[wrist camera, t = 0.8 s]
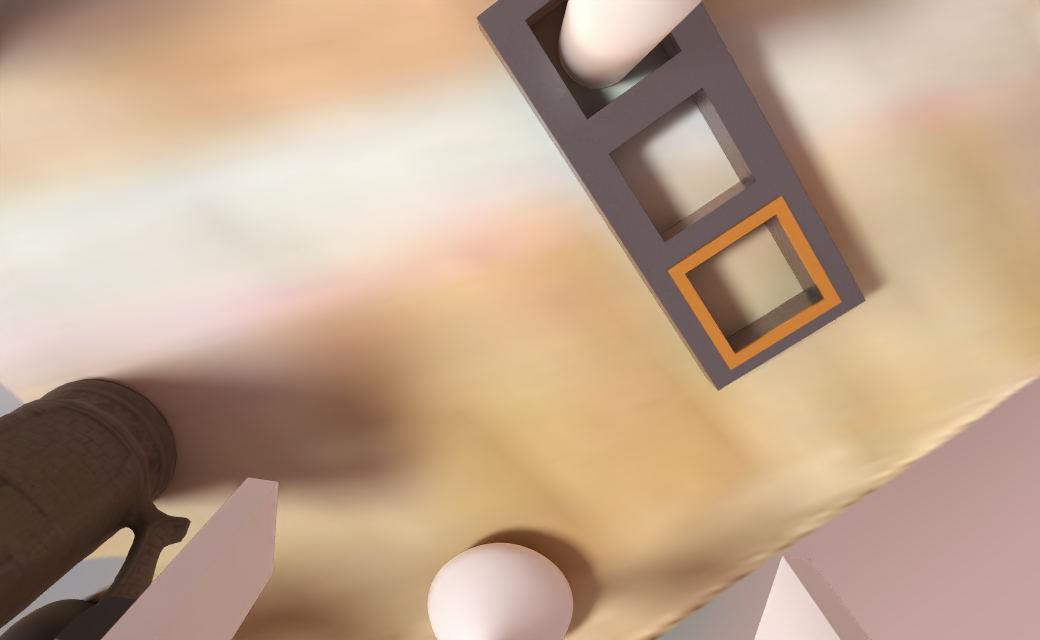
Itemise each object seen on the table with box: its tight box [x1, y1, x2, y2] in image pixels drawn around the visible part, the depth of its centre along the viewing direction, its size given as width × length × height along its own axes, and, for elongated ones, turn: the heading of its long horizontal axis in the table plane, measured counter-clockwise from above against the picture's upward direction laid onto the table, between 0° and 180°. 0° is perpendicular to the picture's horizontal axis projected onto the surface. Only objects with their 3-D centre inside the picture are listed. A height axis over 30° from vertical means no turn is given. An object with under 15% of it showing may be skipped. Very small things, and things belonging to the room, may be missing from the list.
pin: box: [558, 0, 702, 89], centre depth 27 cm, size 5×5×15 cm
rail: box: [477, 0, 866, 390], centre depth 35 cm, size 28×11×3 cm, turn 35°
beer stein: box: [0, 380, 191, 628], centre depth 32 cm, size 15×11×20 cm
